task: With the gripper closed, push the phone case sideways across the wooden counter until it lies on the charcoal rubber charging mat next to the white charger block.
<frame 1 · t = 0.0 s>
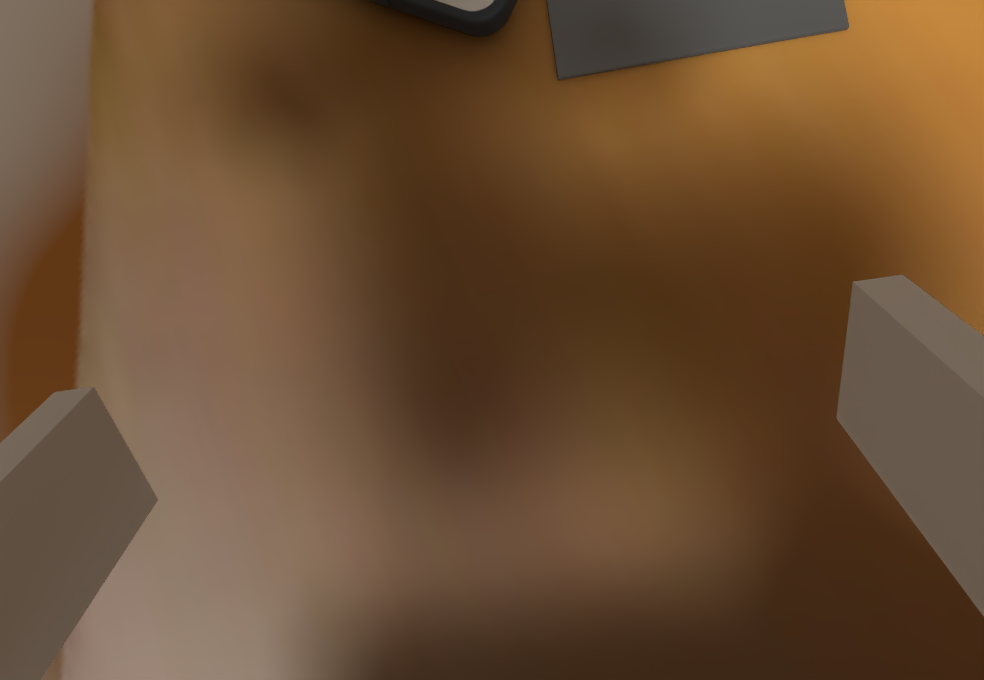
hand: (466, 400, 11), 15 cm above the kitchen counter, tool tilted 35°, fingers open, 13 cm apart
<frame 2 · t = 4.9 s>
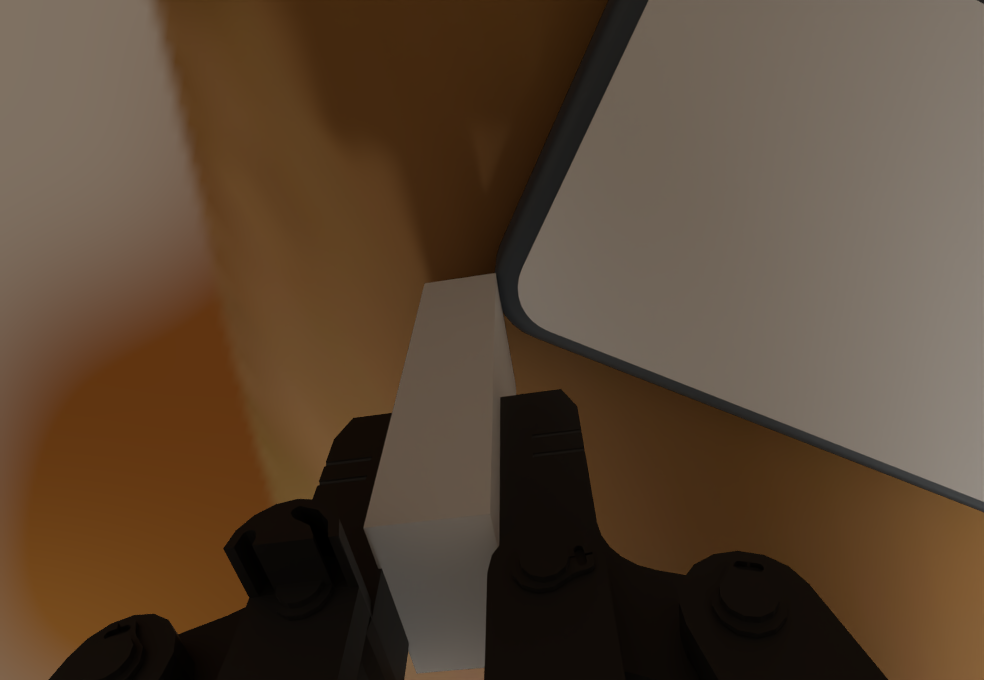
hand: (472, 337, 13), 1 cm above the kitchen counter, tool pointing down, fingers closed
phone case: (903, 251, 14), on the kitchen counter, touching charging mat, gripper
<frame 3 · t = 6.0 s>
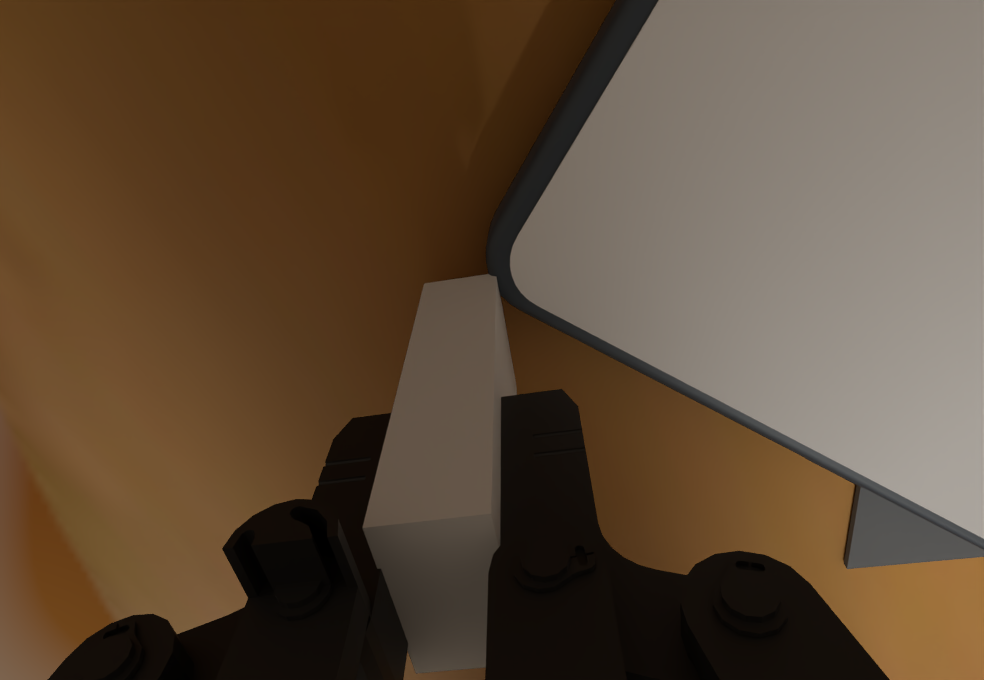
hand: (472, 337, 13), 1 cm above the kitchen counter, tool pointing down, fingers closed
phone case: (894, 262, 14), on the kitchen counter, touching charging mat, gripper
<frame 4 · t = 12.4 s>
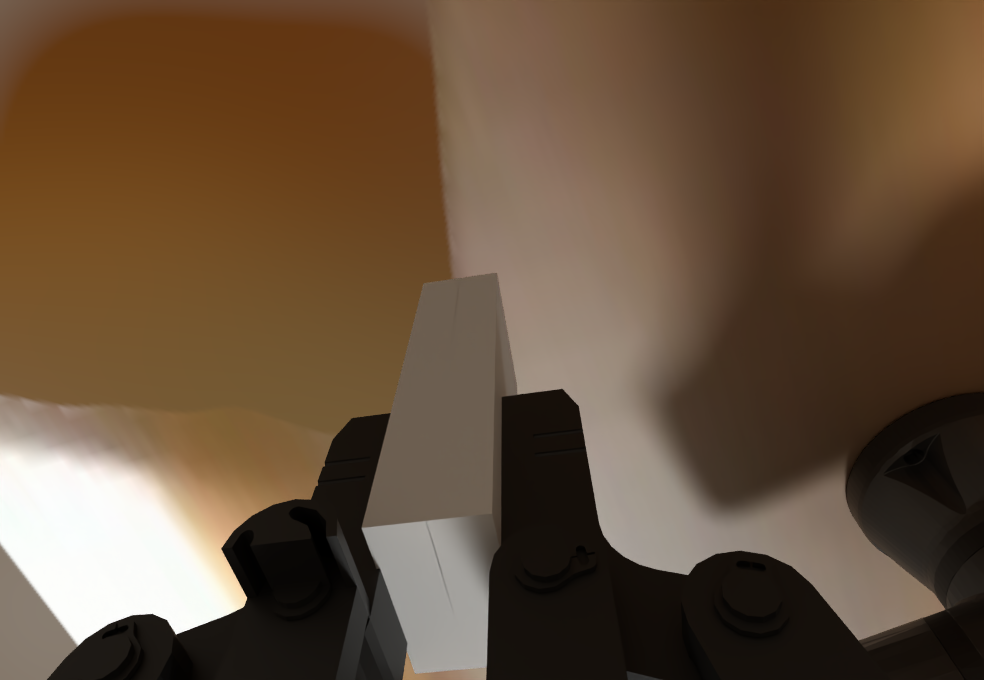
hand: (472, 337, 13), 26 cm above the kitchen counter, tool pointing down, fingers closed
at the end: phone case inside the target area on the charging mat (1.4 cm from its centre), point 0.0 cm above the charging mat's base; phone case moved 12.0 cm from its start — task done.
